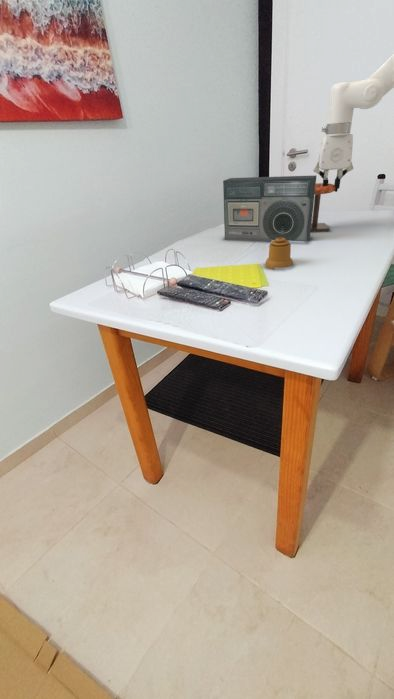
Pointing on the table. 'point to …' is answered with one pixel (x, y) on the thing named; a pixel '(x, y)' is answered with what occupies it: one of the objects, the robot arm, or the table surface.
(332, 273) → the table surface
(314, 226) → the wooden bookend
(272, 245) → the ornamental finial
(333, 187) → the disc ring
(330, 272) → the table surface
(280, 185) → the cassette player
